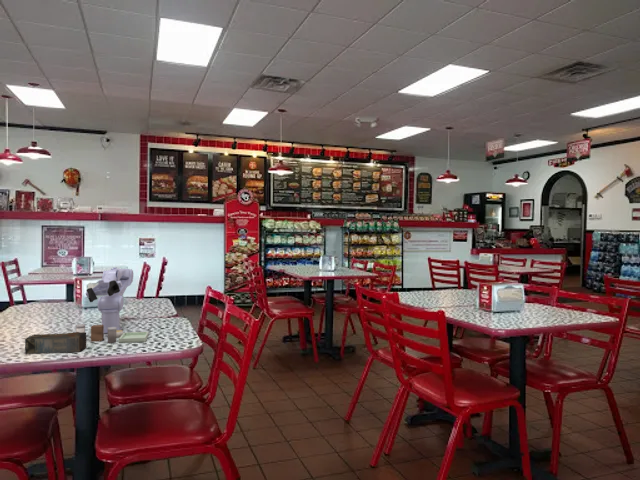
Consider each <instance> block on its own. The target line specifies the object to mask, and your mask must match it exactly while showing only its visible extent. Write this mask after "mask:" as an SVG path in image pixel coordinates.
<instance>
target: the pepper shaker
mask: <svg viewBox="0 0 640 480" xmlns="http://www.w3.org/2000/svg"><path fill="white" fill-rule="evenodd" d="M116 330H117V327H108V333H107V344H115V343H117V338H116Z"/></svg>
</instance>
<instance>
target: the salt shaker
mask: <svg viewBox="0 0 640 480" xmlns="http://www.w3.org/2000/svg"><path fill="white" fill-rule="evenodd" d="M75 328H76V330H75V332H80V333H82V332H86V324H83V323H81V324H76V325H75Z"/></svg>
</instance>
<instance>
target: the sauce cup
mask: <svg viewBox="0 0 640 480" xmlns="http://www.w3.org/2000/svg"><path fill="white" fill-rule="evenodd" d="M123 333H124V330H123V329H121V330H116V339H119V338H120V337H121V336H122V334H123Z"/></svg>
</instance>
